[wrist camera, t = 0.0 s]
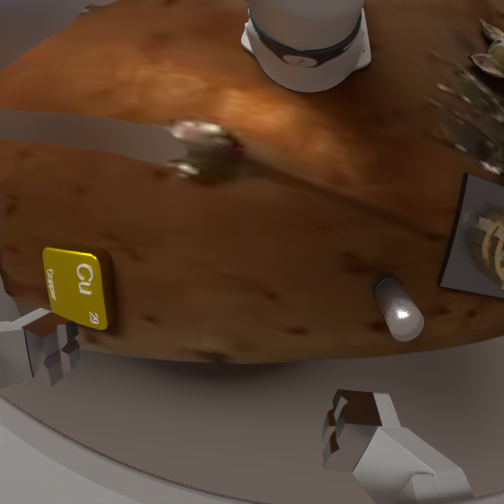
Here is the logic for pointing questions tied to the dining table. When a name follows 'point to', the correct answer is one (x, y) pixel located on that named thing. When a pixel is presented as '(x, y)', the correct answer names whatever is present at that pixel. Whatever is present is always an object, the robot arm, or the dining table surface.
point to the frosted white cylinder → (397, 307)
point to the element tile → (81, 284)
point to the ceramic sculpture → (491, 52)
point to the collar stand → (476, 240)
